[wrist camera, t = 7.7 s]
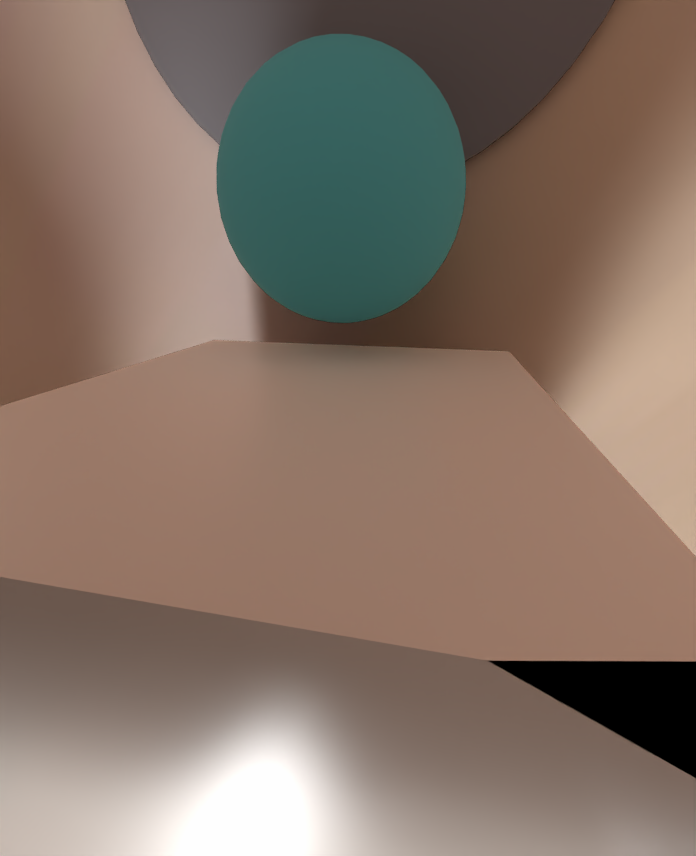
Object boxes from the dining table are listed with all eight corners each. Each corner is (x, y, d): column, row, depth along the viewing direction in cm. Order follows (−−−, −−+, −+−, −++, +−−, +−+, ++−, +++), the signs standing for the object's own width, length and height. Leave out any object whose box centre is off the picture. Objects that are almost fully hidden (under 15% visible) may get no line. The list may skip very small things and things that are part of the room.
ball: (127, 211, 6) (196, -32, 7) (252, 353, 11) (281, 194, 12) (479, 210, 5) (496, -66, 6) (445, 364, 10) (457, 192, 11)
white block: (239, 567, 14) (-28, 970, 6) (213, 340, 11) (-357, 516, 3) (472, 601, 13) (537, 1194, 4) (509, 351, 10) (844, 720, 2)
